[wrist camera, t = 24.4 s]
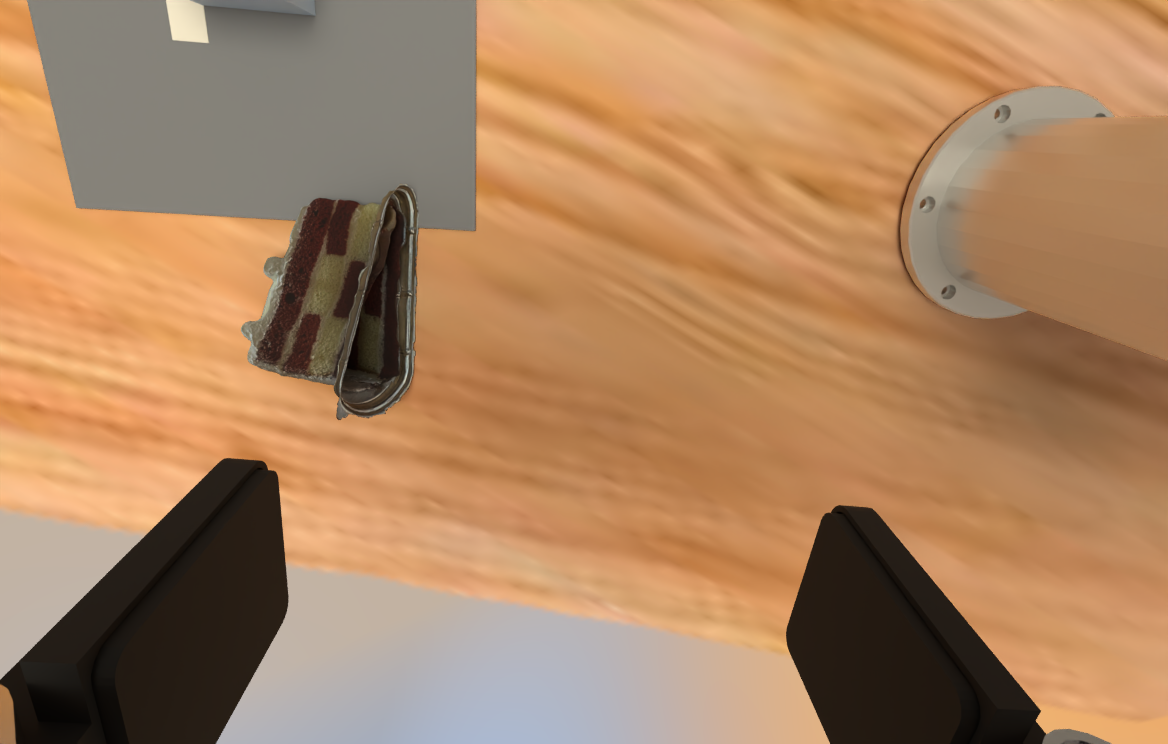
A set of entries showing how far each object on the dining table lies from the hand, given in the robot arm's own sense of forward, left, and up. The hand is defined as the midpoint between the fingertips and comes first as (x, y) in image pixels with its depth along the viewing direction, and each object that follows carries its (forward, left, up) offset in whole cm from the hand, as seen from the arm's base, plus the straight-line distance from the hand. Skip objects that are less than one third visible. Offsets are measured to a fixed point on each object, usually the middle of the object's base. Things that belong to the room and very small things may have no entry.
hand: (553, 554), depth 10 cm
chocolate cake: (+11, +2, -25) cm, 27 cm away
